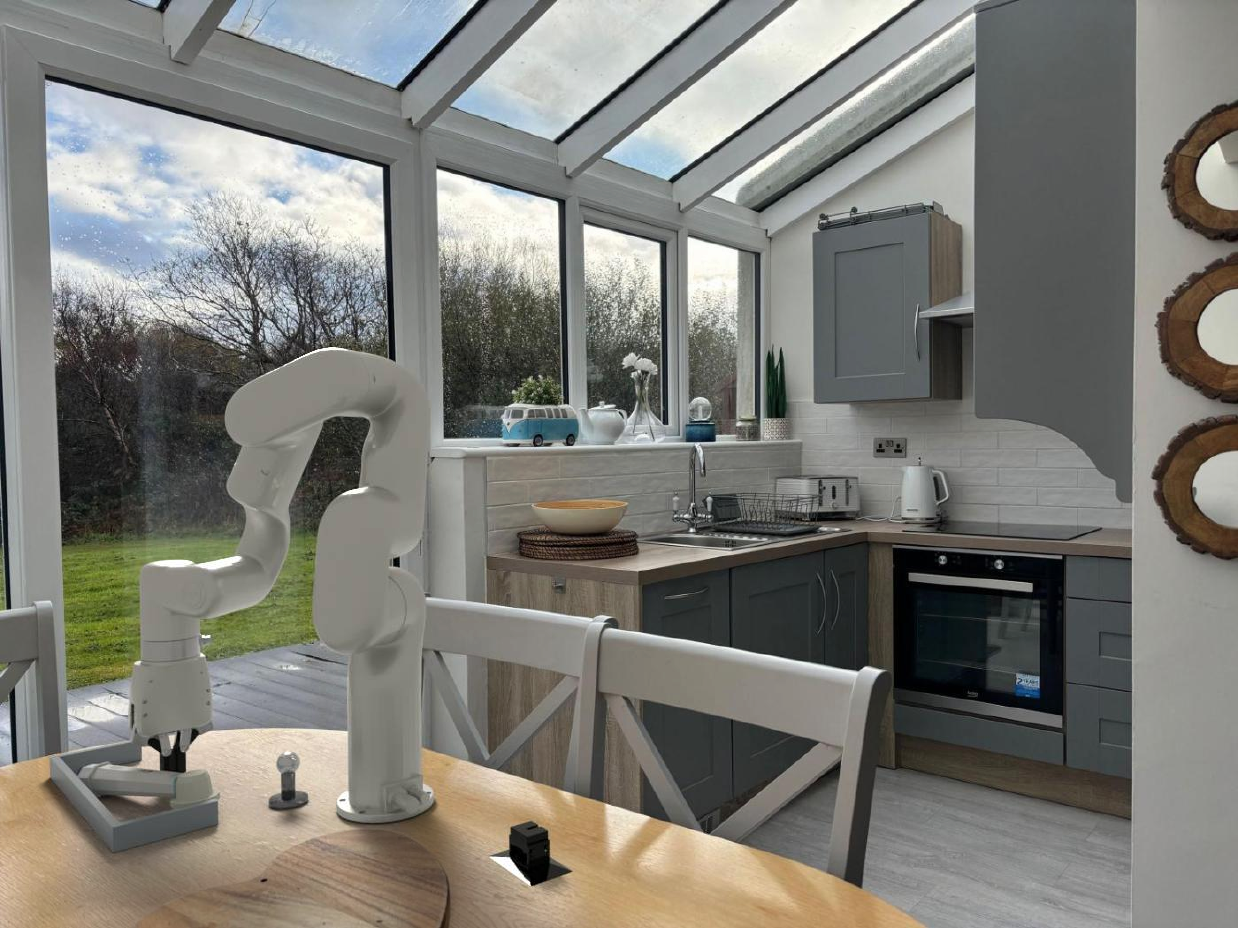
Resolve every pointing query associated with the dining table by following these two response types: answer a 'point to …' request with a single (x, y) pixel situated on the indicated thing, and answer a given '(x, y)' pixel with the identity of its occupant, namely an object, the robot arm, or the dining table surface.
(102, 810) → the bay
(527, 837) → the black slotted block
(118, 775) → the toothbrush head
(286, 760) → the ball stud
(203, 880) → the dining table surface
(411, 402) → the robot arm
